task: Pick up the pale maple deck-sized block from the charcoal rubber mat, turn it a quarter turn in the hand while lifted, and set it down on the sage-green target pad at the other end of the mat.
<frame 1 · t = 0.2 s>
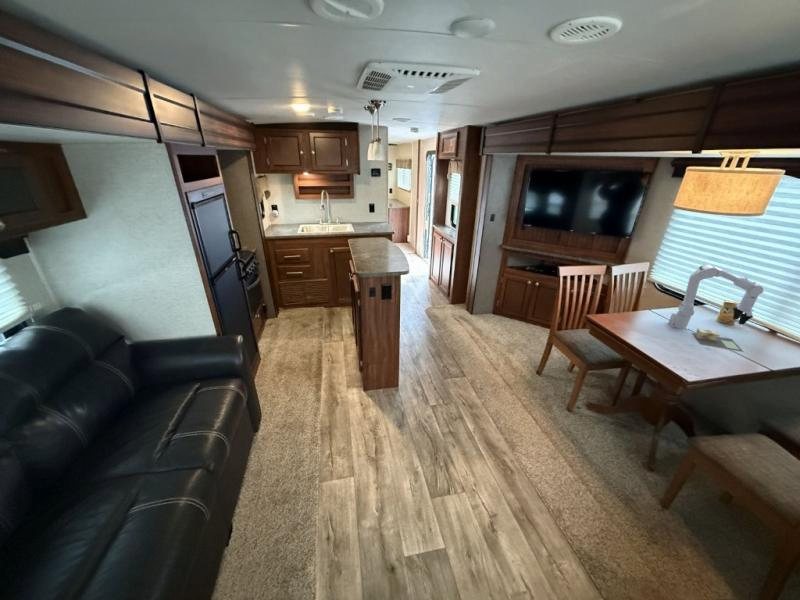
hand: (738, 321, 195), 10 cm above the table, tool pointing down, fingers open, 7 cm apart
rubber mat: (715, 342, 191), on the table
candy box: (724, 322, 215), on the table
maple block: (705, 337, 196), resting on rubber mat
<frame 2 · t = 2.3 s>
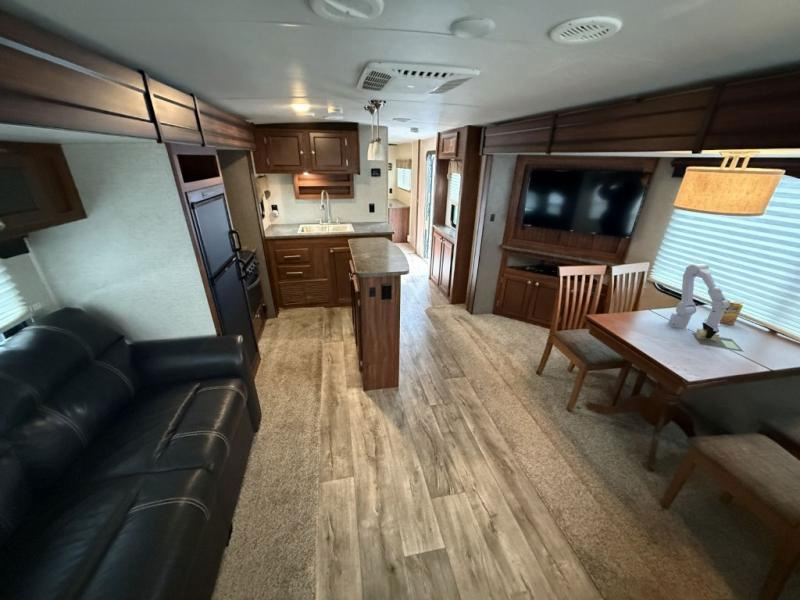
hand: (706, 336, 195), 2 cm above the table, tool pointing down, fingers closed on maple block, 5 cm apart
maple block: (705, 337, 196), resting on rubber mat, touching gripper
everything else where it was.
when the fingers open (3 cm above the table, at t = 6.6 s): maple block drops 1 cm, resting on rubber mat.
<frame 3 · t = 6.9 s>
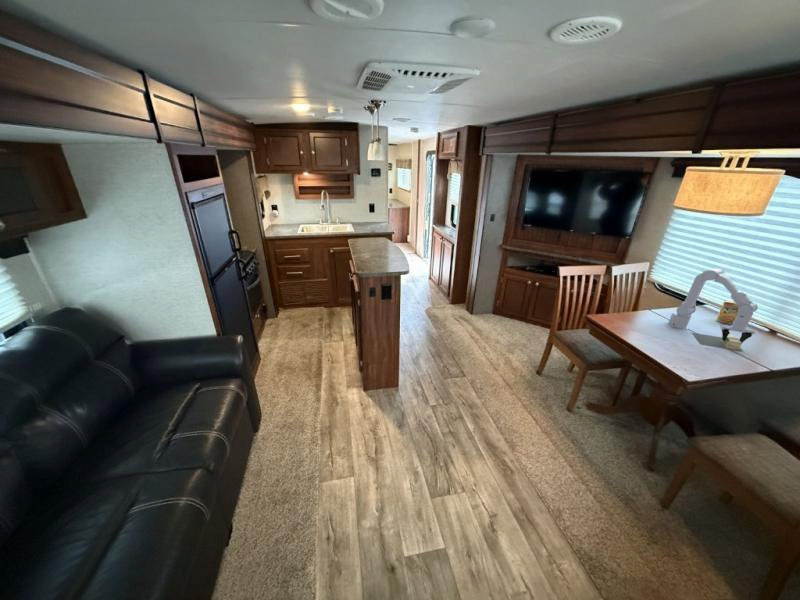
hand: (731, 341, 187), 3 cm above the table, tool pointing down, fingers open, 7 cm apart
maple block: (730, 344, 188), resting on rubber mat
everything else where it was.
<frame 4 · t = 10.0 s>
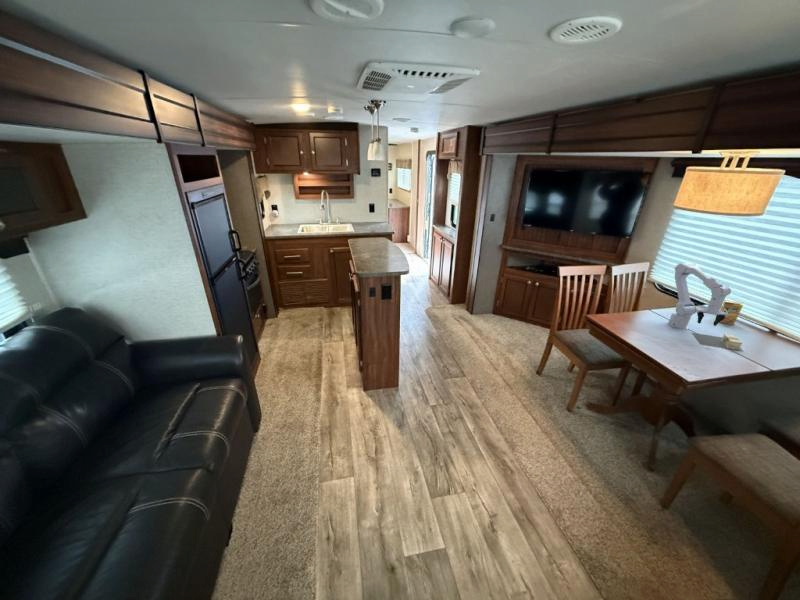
hand: (706, 324, 194), 9 cm above the table, tool pointing down, fingers open, 7 cm apart
nothing on the table moved.
at the end: maple block 0.0 cm from the target spot, point 0.5 cm above the table; maple block tilted 0°; the gripper is holding nothing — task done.
